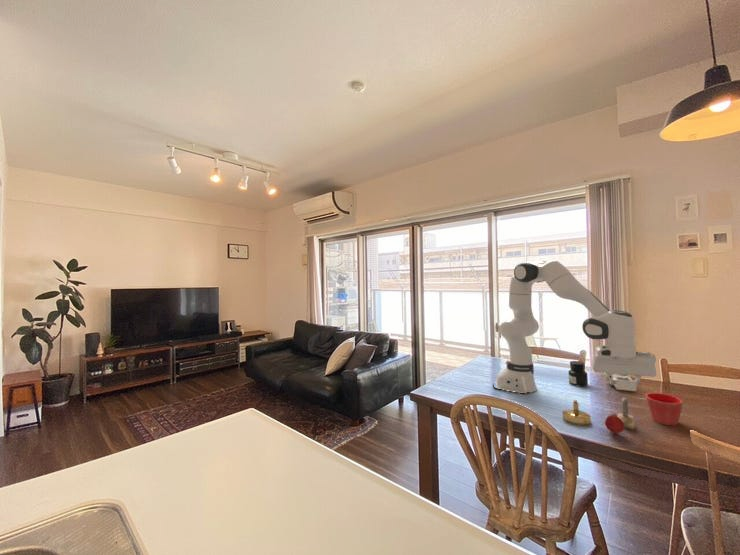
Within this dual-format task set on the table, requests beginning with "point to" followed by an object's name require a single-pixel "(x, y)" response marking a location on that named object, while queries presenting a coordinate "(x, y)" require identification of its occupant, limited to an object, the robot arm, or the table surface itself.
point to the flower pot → (664, 408)
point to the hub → (576, 416)
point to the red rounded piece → (614, 424)
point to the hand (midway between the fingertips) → (623, 384)
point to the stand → (626, 415)
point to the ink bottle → (578, 374)
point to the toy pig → (615, 374)
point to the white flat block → (624, 383)
